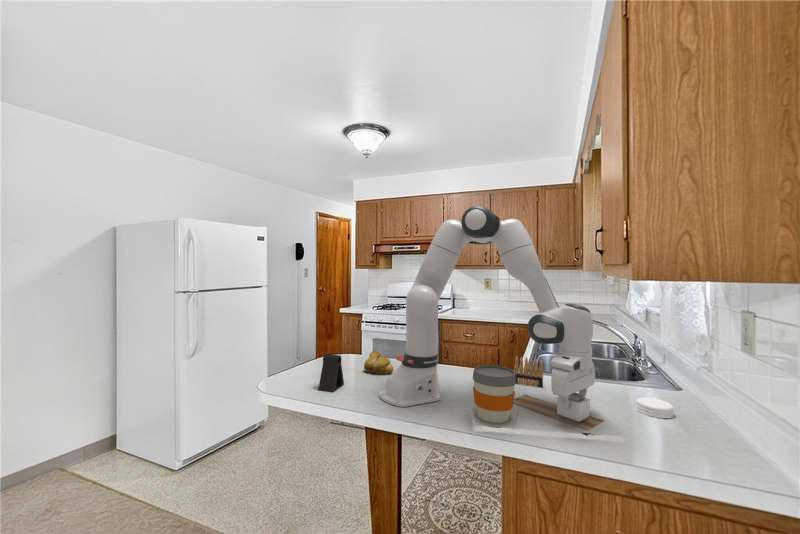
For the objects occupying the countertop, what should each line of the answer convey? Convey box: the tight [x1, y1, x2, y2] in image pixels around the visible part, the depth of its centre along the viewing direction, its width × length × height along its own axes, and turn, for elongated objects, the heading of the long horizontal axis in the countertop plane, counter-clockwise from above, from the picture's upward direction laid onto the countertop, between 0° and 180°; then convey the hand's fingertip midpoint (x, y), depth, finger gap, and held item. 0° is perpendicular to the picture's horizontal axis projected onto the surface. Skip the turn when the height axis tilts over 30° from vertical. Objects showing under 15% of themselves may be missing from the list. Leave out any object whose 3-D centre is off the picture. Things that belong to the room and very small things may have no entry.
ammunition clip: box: [513, 355, 544, 389], centre depth 139 cm, size 11×2×12 cm, turn 67°
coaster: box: [635, 396, 675, 419], centre depth 119 cm, size 10×10×4 cm
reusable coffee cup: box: [472, 364, 517, 429], centre depth 109 cm, size 13×13×15 cm
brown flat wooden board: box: [513, 392, 605, 437], centre depth 115 cm, size 11×26×8 cm, turn 39°
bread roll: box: [363, 350, 394, 375], centre depth 155 cm, size 13×10×8 cm
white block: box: [556, 396, 591, 421], centre depth 110 cm, size 7×7×6 cm
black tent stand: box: [317, 353, 345, 393], centre depth 135 cm, size 9×6×12 cm, turn 164°
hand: (573, 405), depth 110 cm, fingers open, 8 cm apart
